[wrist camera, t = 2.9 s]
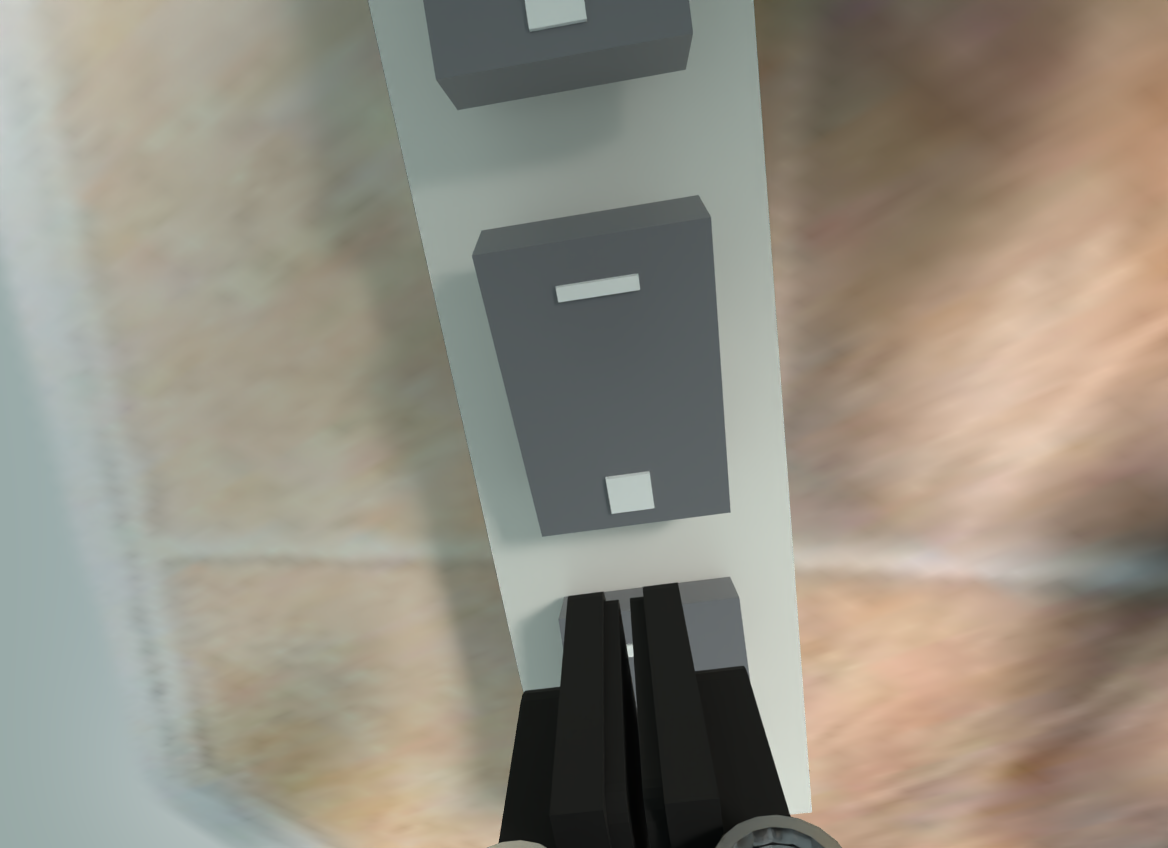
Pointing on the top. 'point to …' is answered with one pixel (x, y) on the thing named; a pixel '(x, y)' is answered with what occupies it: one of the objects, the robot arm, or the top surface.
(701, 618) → the plate
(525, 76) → the rocker
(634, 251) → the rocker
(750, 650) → the power strip
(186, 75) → the top surface
